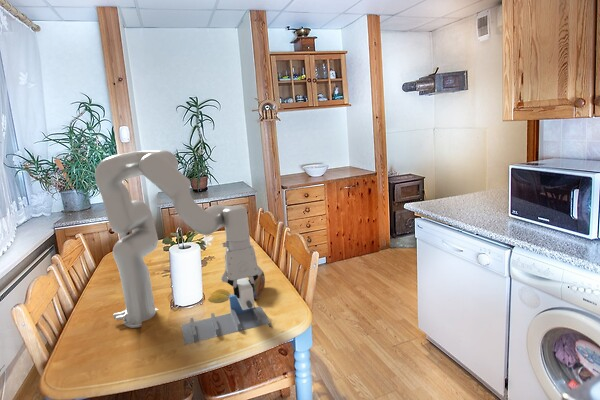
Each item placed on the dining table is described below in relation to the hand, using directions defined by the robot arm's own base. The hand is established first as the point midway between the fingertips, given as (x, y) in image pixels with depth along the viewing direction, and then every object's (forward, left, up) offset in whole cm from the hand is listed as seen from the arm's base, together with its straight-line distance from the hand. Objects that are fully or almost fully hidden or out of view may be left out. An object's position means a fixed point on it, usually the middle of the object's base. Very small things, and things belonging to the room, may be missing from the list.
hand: (244, 294), depth 132 cm
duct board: (-7, +1, -11) cm, 13 cm away
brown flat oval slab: (+9, +21, -11) cm, 26 cm away
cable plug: (0, -2, -3) cm, 3 cm away
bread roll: (-6, +22, -12) cm, 26 cm away
